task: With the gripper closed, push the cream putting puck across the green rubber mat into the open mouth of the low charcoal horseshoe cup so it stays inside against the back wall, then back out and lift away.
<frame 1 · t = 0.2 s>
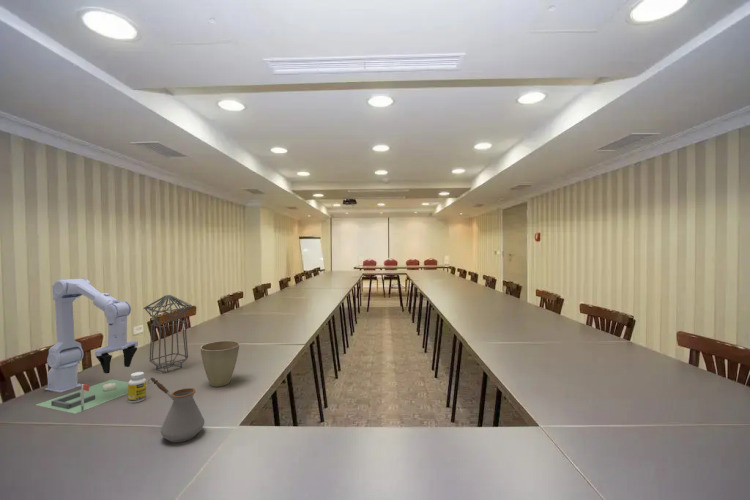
hand: (117, 369, 131), 10 cm above the table, tool pointing down, fingers open, 7 cm apart
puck: (109, 389, 136), resting on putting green
plant pot: (220, 383, 143), on the table
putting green: (95, 395, 131), on the table
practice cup: (74, 402, 124), resting on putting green
geometric lantern: (167, 369, 160), on the table
supplement bottle: (136, 400, 127), on the table
coffee pot: (172, 432, 104), on the table
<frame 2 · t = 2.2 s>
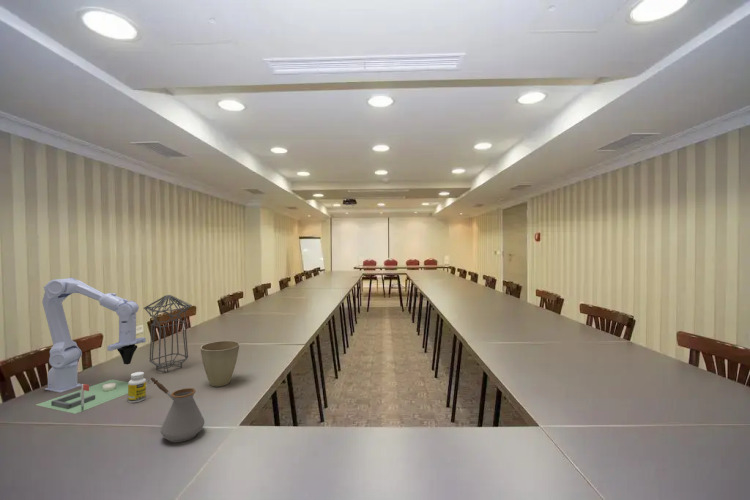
hand: (127, 363, 142), 8 cm above the table, tool pointing down, fingers closed
nothing on the table moved.
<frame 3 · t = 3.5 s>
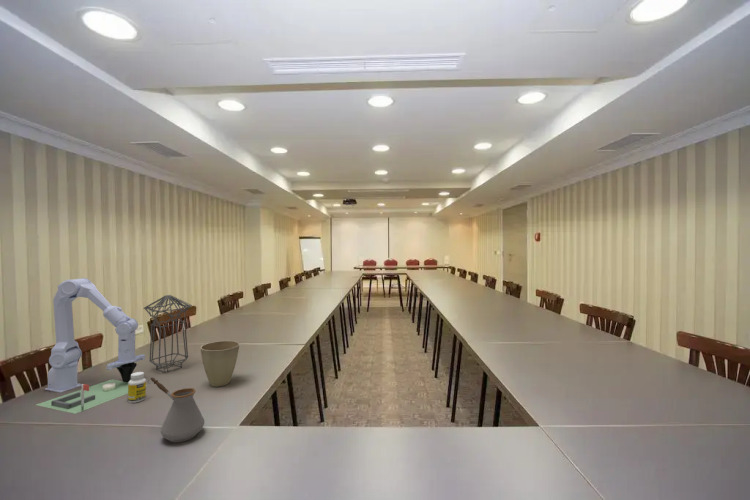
hand: (126, 381, 142), 1 cm above the table, tool pointing down, fingers closed
nothing on the table moved.
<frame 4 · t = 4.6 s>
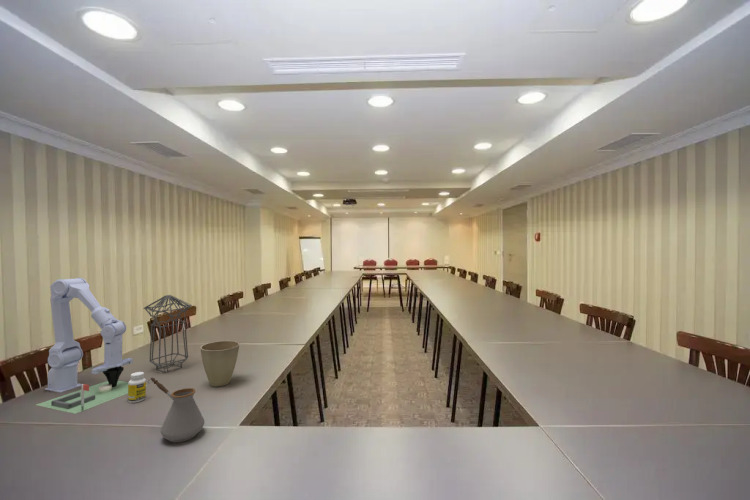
hand: (112, 386, 137), 1 cm above the table, tool pointing down, fingers closed
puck: (105, 391, 134), resting on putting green, touching gripper
everything else where it was.
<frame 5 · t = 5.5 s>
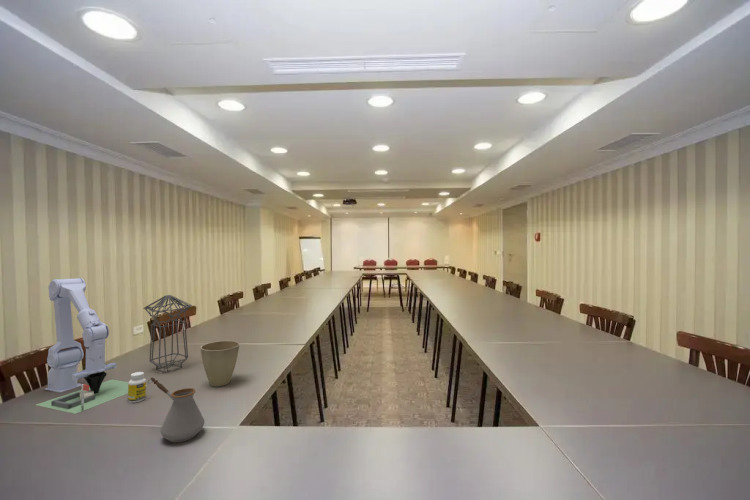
hand: (95, 392, 131), 1 cm above the table, tool pointing down, fingers closed
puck: (86, 397, 128), resting on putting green, touching gripper
everything else where it was.
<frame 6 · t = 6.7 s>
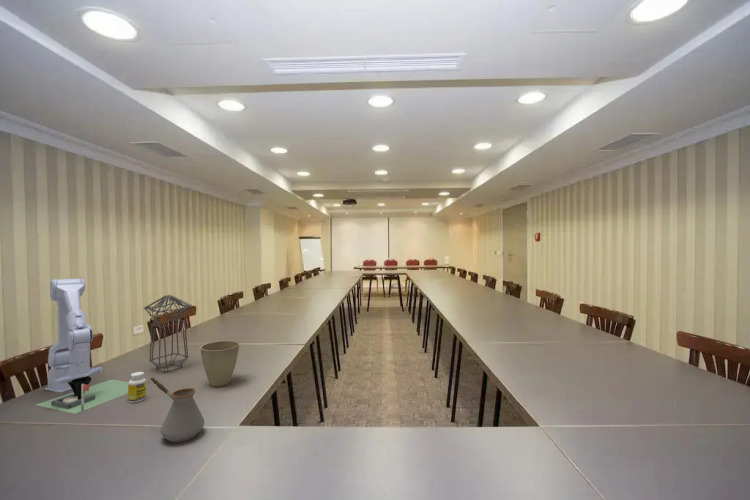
hand: (79, 398, 126), 1 cm above the table, tool pointing down, fingers closed
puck: (70, 403, 123), resting on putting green, touching gripper, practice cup
everything else where it was.
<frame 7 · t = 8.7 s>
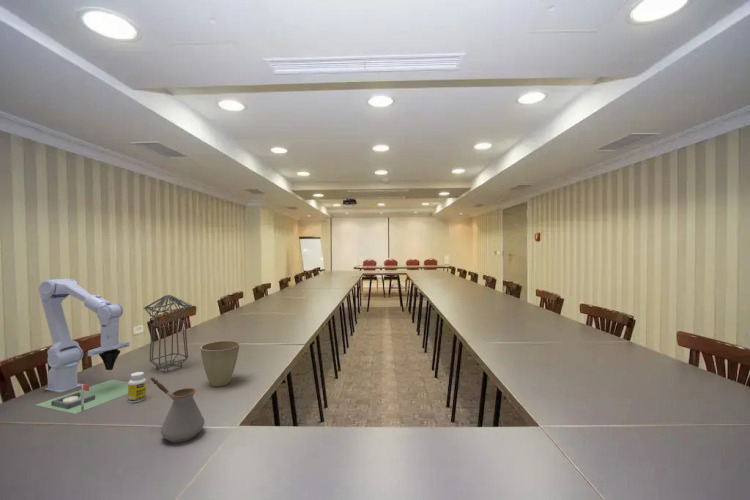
hand: (109, 369, 136), 8 cm above the table, tool pointing down, fingers closed
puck: (70, 403, 123), resting on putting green
everything else where it was.
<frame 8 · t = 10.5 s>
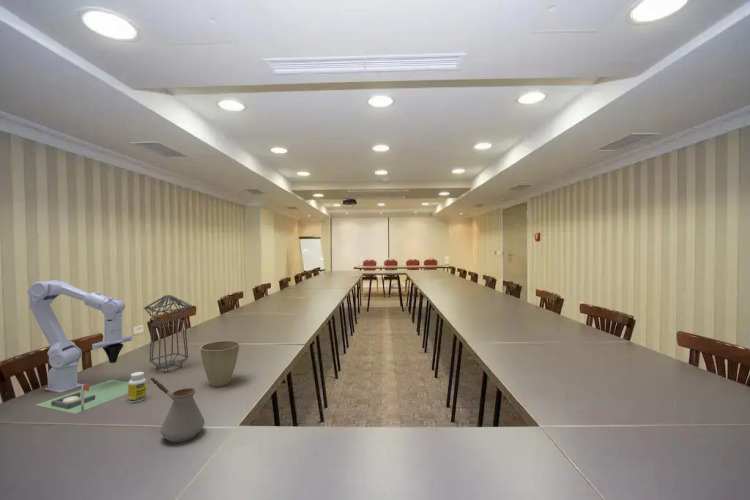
hand: (112, 362, 141), 9 cm above the table, tool pointing down, fingers closed
nothing on the table moved.
at the end: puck 0.8 cm off-centre on the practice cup, point 0.3 cm above the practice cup's base; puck moved 13.5 cm from its start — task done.
